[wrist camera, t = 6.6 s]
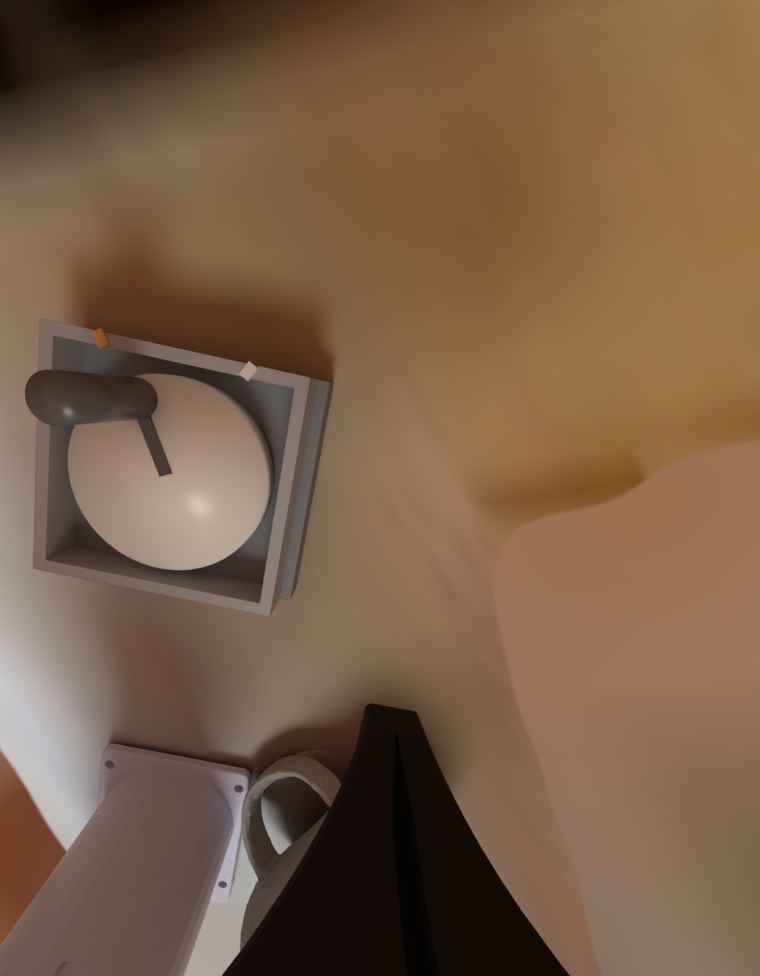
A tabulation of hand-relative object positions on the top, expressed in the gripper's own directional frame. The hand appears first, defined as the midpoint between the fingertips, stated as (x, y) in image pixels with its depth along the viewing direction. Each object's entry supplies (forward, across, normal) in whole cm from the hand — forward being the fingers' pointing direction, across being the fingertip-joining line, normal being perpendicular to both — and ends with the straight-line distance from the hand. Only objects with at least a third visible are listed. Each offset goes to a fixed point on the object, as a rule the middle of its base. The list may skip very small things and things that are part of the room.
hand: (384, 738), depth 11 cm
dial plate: (+9, +10, -4) cm, 14 cm away
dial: (+8, +10, -4) cm, 13 cm away
